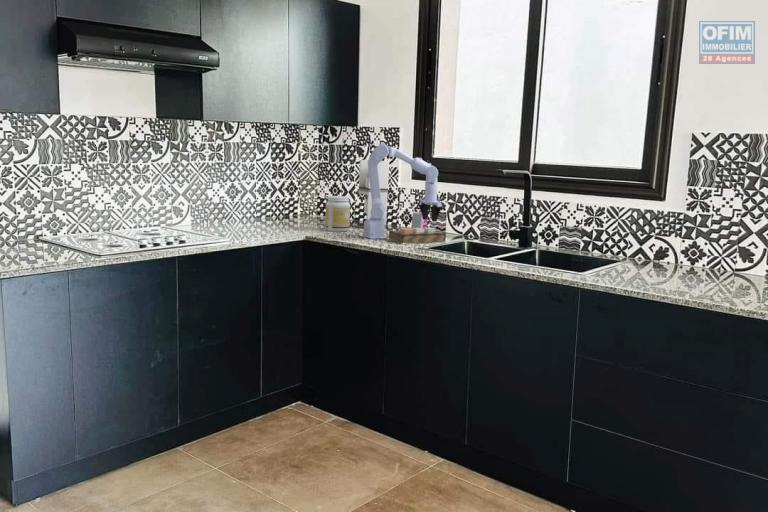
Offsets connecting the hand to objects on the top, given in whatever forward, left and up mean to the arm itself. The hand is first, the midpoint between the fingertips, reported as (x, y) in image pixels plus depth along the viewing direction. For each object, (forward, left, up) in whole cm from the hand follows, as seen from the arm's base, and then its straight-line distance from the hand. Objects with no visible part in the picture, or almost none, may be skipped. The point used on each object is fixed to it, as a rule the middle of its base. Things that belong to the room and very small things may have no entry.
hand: (429, 220), depth 326 cm
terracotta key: (-13, 0, -7) cm, 15 cm away
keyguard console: (-7, 0, -10) cm, 12 cm away
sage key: (0, 0, -7) cm, 7 cm away
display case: (-6, +44, -10) cm, 45 cm away
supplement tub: (-29, +39, -10) cm, 49 cm away
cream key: (-7, 0, -7) cm, 10 cm away
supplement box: (+5, +16, -10) cm, 19 cm away
